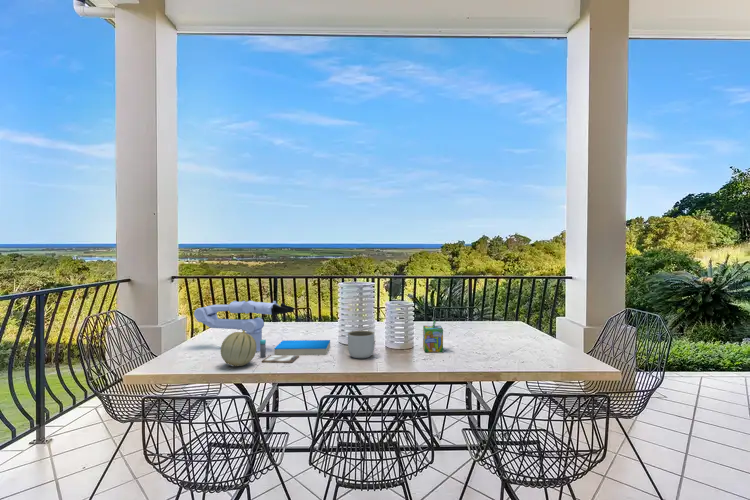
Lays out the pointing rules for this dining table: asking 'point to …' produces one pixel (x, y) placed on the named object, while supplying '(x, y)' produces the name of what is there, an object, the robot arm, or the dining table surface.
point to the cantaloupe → (238, 348)
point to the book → (302, 347)
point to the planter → (361, 344)
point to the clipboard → (280, 359)
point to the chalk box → (433, 338)
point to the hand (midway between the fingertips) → (290, 310)
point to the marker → (262, 348)
